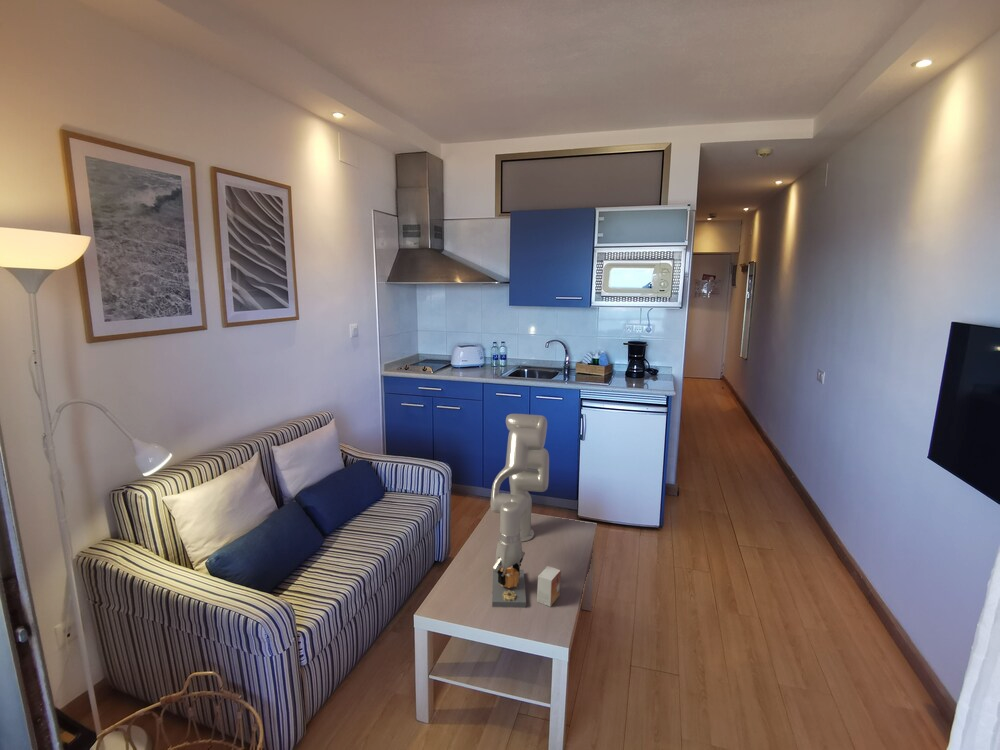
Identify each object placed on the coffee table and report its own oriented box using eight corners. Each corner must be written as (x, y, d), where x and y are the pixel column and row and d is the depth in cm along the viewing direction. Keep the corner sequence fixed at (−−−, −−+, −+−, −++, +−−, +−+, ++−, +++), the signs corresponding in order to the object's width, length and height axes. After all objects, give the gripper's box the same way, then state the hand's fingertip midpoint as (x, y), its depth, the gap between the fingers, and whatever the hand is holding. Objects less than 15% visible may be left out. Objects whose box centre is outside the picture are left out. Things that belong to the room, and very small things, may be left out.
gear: (495, 581, 184) (495, 572, 183) (508, 573, 189) (508, 564, 188) (509, 590, 179) (509, 580, 178) (522, 582, 184) (522, 572, 183)
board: (493, 573, 194) (493, 559, 193) (523, 574, 194) (523, 560, 193) (492, 606, 175) (492, 591, 173) (525, 607, 175) (526, 592, 173)
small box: (550, 607, 175) (551, 581, 173) (536, 602, 178) (537, 575, 176) (560, 595, 182) (561, 570, 179) (546, 590, 184) (547, 565, 182)
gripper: (518, 524, 189) (517, 566, 192) (485, 540, 177) (485, 584, 180) (533, 531, 184) (531, 574, 187) (500, 548, 172) (499, 594, 175)
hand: (508, 579), depth 184 cm, fingers closed on gear, 7 cm apart
